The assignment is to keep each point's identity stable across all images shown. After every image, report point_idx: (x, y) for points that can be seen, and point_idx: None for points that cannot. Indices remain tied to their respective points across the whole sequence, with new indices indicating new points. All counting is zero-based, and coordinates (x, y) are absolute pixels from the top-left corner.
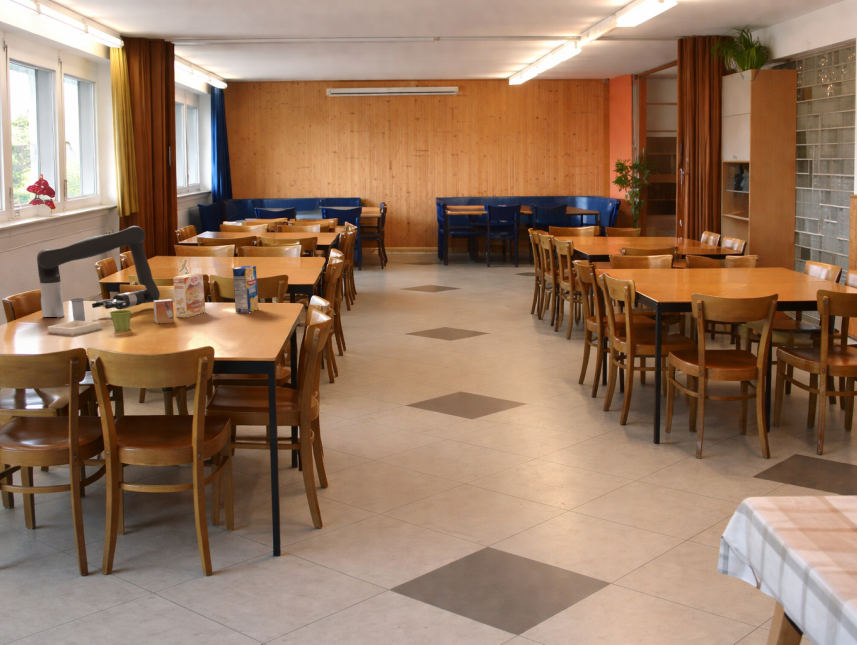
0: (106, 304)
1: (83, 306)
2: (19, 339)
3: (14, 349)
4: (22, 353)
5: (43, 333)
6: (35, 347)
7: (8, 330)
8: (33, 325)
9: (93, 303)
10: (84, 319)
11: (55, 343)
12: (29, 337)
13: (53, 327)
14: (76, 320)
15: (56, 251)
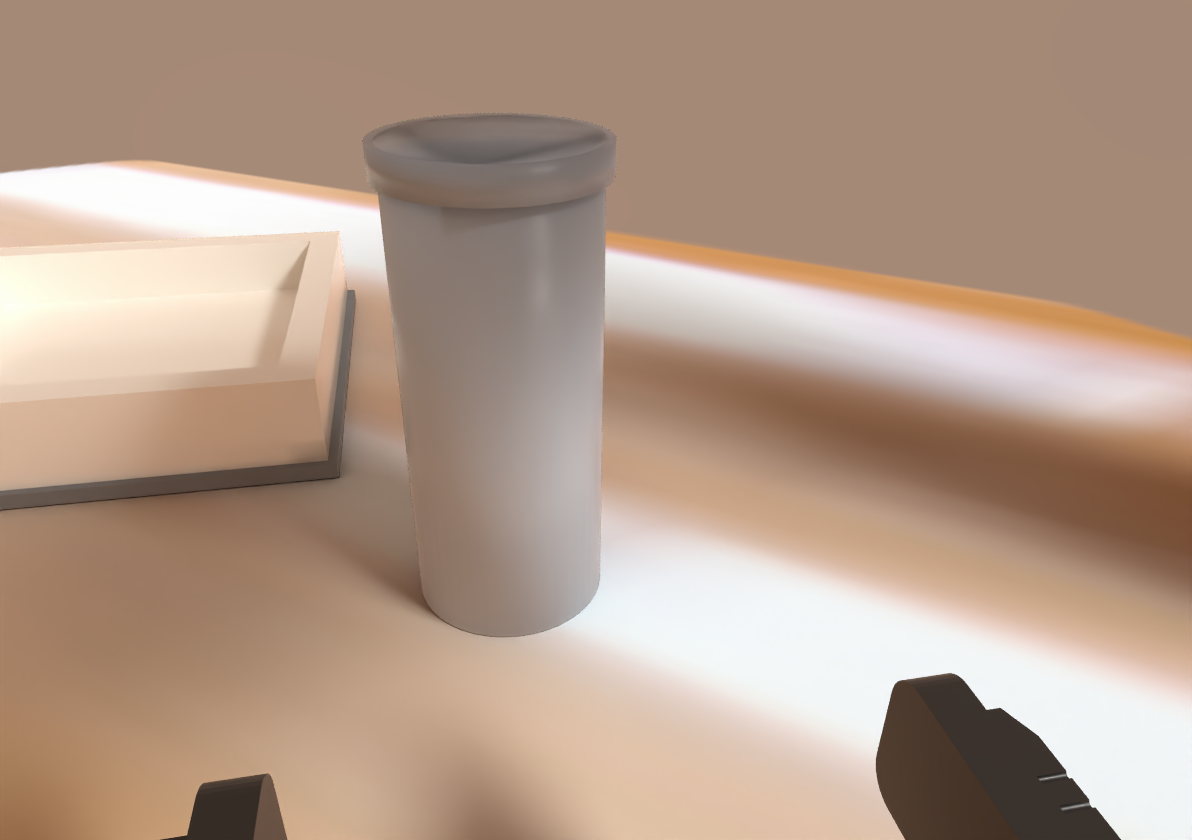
0: (200, 794)
1: (404, 317)
2: None
3: (186, 177)
4: (57, 169)
5: None
6: (84, 202)
7: (842, 270)
8: (954, 373)
9: (909, 682)
10: (420, 533)
11: (11, 244)
12: None
13: (257, 238)
14: (293, 374)
15: None
